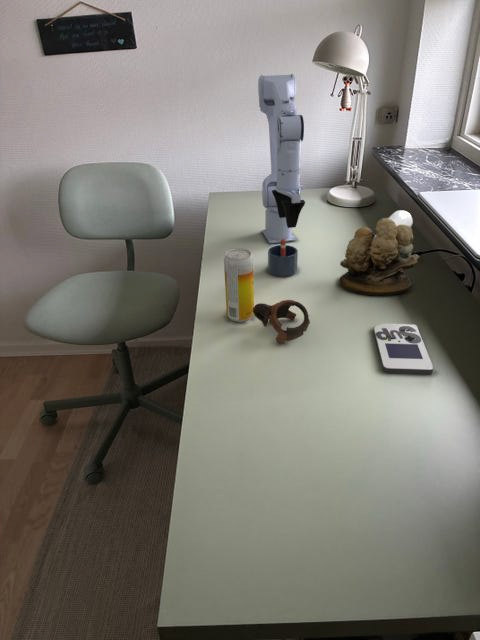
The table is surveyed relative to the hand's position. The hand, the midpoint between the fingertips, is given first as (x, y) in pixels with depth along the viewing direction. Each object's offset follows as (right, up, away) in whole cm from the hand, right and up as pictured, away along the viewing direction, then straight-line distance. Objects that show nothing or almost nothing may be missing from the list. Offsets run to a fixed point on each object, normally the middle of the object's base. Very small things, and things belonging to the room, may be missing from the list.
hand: (287, 222), depth 126 cm
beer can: (-12, -25, -18) cm, 33 cm away
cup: (-1, -13, 0) cm, 13 cm away
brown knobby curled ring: (-4, -28, -24) cm, 37 cm away
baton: (-1, -12, -1) cm, 12 cm away
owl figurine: (+21, -17, -8) cm, 28 cm away
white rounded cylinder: (+27, -4, +7) cm, 28 cm away
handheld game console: (+19, -31, -30) cm, 48 cm away
